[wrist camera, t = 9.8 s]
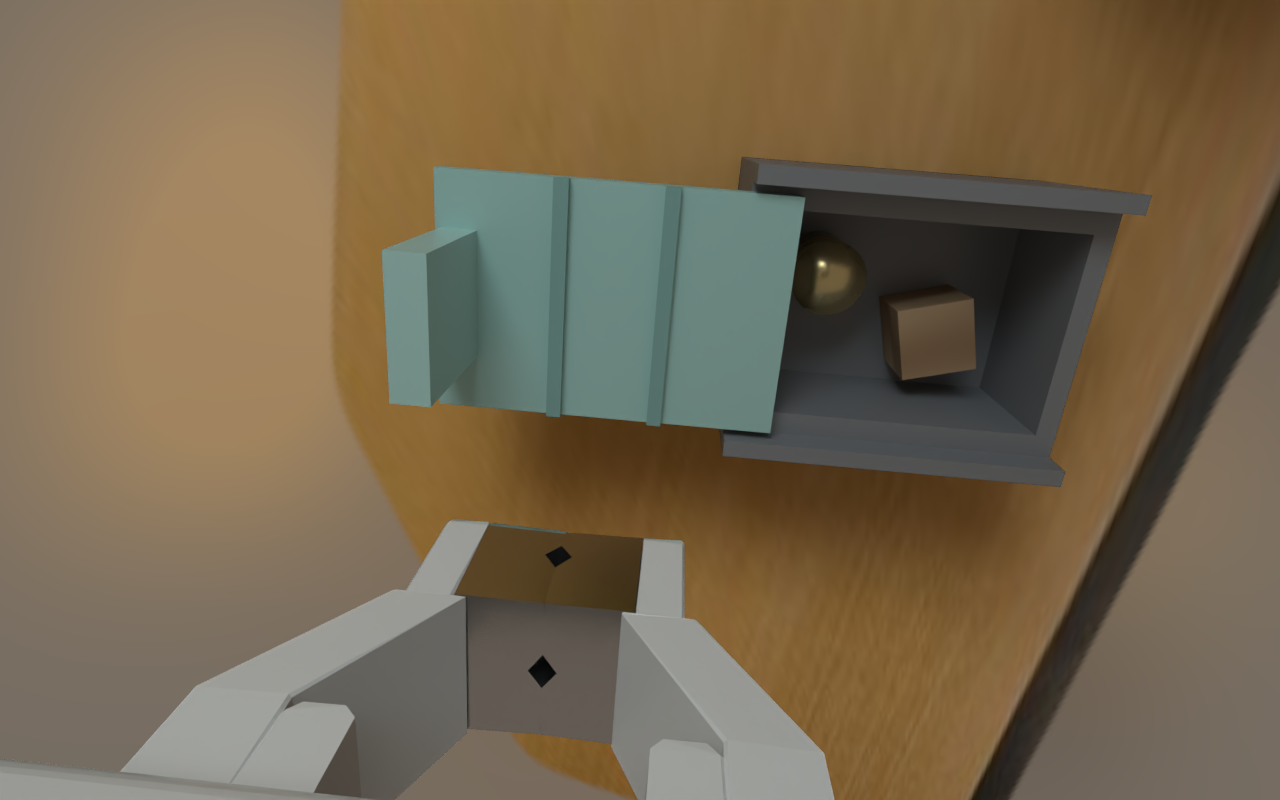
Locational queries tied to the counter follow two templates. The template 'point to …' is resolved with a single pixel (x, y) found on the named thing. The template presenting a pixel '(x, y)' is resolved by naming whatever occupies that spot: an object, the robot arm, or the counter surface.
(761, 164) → the grey box
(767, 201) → the lid
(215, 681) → the robot arm
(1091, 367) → the counter surface
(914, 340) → the wood part
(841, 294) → the brass part
